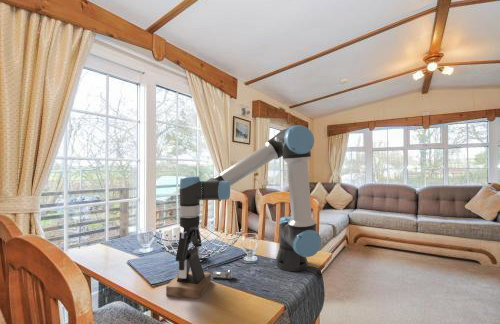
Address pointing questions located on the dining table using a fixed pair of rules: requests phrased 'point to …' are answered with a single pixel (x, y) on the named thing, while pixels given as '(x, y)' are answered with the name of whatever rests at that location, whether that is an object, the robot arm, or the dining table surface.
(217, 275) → the loose bolt
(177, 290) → the brown flat block
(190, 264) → the phone stand
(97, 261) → the dining table surface
